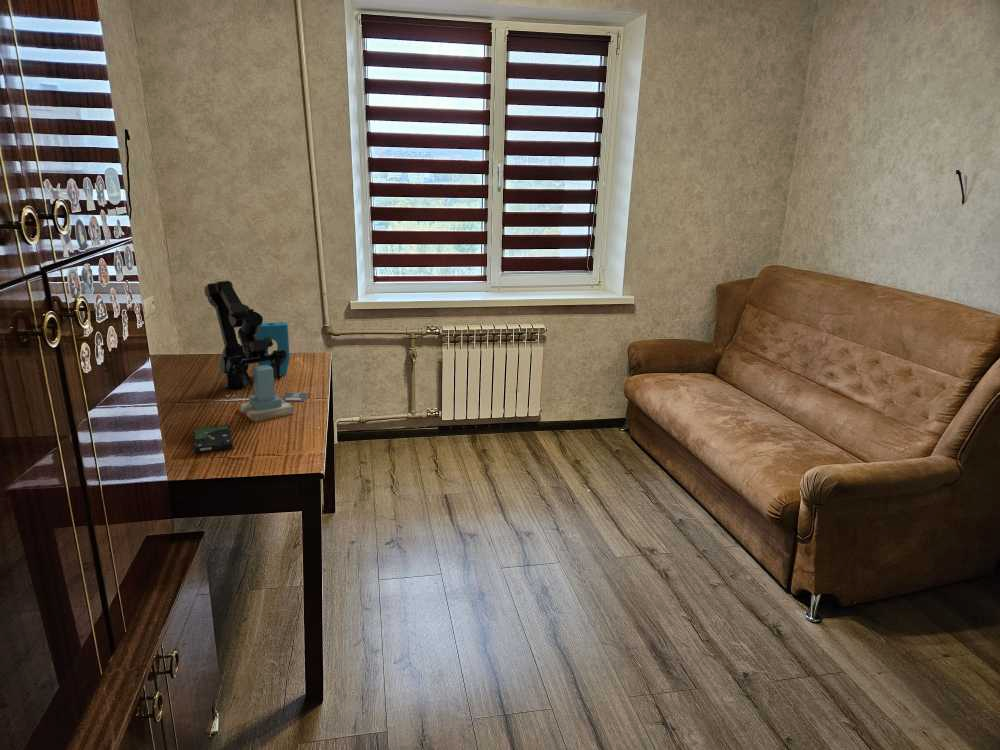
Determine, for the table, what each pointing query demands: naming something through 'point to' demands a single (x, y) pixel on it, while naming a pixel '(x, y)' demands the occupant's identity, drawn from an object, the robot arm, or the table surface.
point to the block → (278, 335)
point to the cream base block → (265, 411)
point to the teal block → (264, 389)
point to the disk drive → (212, 439)
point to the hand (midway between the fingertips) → (265, 382)
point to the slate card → (295, 397)
